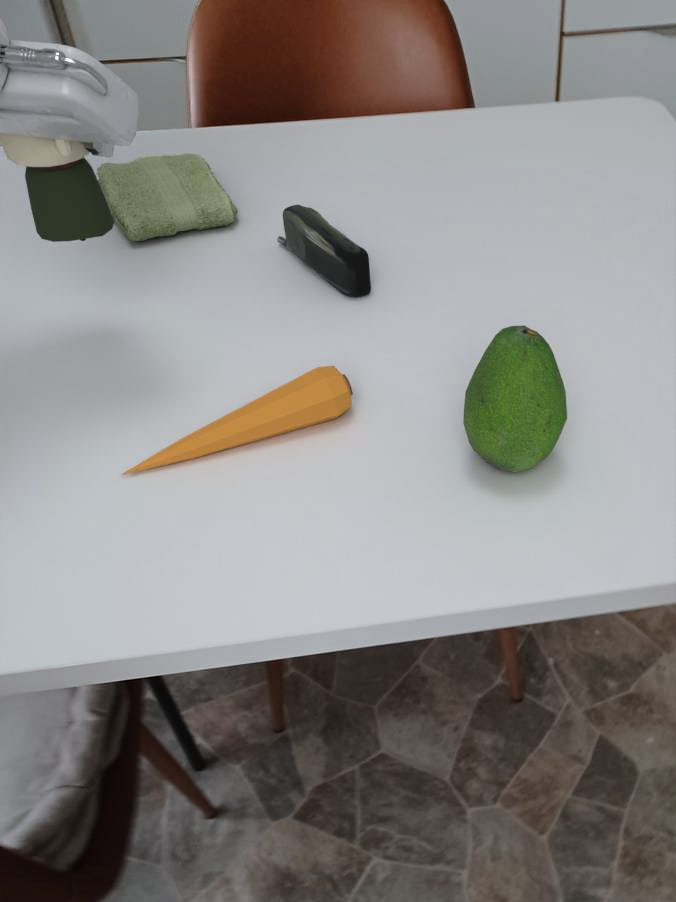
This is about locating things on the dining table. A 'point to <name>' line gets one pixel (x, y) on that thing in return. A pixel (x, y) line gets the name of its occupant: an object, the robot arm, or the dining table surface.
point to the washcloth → (164, 196)
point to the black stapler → (326, 250)
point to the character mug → (60, 187)
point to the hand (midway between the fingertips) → (54, 142)
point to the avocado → (515, 401)
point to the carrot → (265, 417)
